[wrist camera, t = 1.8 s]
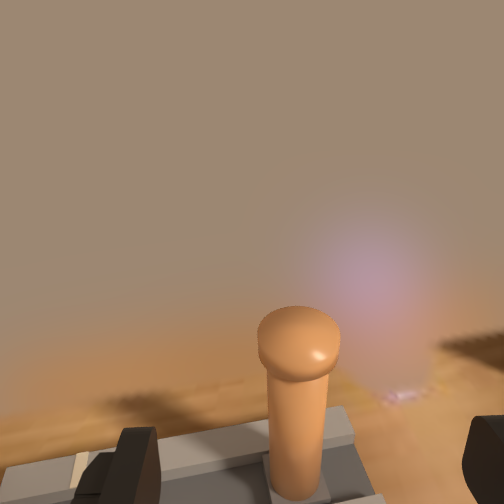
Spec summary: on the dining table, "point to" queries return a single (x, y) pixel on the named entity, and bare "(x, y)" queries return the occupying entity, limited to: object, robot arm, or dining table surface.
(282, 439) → the wooden peg
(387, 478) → the dining table surface
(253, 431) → the grey stand base
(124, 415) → the dining table surface
